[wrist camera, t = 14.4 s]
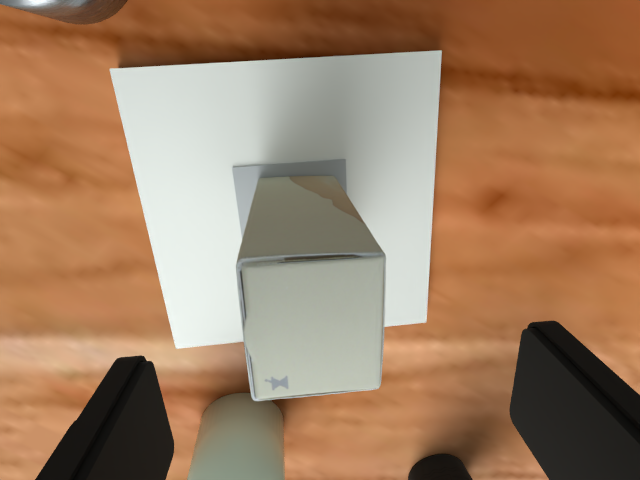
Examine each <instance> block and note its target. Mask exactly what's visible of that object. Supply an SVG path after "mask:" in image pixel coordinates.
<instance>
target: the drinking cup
mask: <svg viewBox="0 0 640 480" xmlns="http://www.w3.org/2000/svg"><path fill="white" fill-rule="evenodd" d="M408 480H472V478H471V476H470V475H469V473H468V471H467V470H466V468H465V466H464V465H463V463H462V462H461V460H459V459H458V458H457V457H455V456H452V455H448V454H438V455H433V456H430V457H427V458H425V459H423V460H421V461H420V462H418V463H417V464H416V465H415V466H414V467H413V468H412V470H411V471H410V473H409V477H408Z"/></svg>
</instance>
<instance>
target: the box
mask: <svg viewBox="0 0 640 480" xmlns="http://www.w3.org/2000/svg"><path fill="white" fill-rule="evenodd" d="M236 275H237V286H238V297H239V306H240V314H241V323H242V331H243V339H244V347H245V355H246V362H247V369H248V376H249V384H250V390H251V397H252V399H253V400H254V401H263V400H273V399H285V398H297V397H307V396H319V395H328V394H338V393H346V392H354V391H364V390H374V389H378V388H379V387H380V385H381V374H382V361H383V346H384V326H385V288H386V256H385V253H384V252H383V250H382V249H381V247H380V246H379V244H378V243H377V241H376V240H375V238H374V237H373V235H372V233H371V232H370V230H369V229H368V227H367V226H366V224H365V222H364V221H363V219H362V218H361V216H360V215H359V213H358V211H357V210H356V208H355V207H354V205H353V204H352V202H351V201H350V199H349V197H348V196H347V194H346V193H345V191H344V190H343V188H342V187H341V185H340V184H339V182H338V180H337V179H336V177H335V176H287V177H268V178H260V179H259V180H258V182H257V186H256V190H255V193H254V197H253V201H252V204H251V208H250V212H249V216H248V220H247V224H246V227H245V231H244V235H243V239H242V243H241V246H240V250H239V254H238V258H237V263H236Z"/></svg>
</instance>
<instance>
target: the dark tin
mask: <svg viewBox="0 0 640 480" xmlns="http://www.w3.org/2000/svg"><path fill="white" fill-rule="evenodd" d="M126 2H127V0H0V4H2V5H5V6H9V7H13V8H16V9H20V10H23V11H27V12H31V13H34V14H38V15H41V16H45V17H49V18H52V19H56V20H59V21H63V22H67V23H72V24H94V23H97V22H101V21H103V20H106V19H108V18H110V17H111V16H113V15H114V14H116V13H117V12H118V11H119V10H120V9H121V8H122V7H123V6H124V4H125V3H126Z"/></svg>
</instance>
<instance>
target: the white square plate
mask: <svg viewBox="0 0 640 480" xmlns="http://www.w3.org/2000/svg"><path fill="white" fill-rule="evenodd" d="M441 56H442V50H439V51H421V52H403V53H385V54H367V55H349V56H331V57H313V58H295V59H277V60H259V61H241V62H223V63H205V64H187V65H169V66H151V67H133V68H115V69H110V73H111V77H112V82H113V86H114V90H115V94H116V98H117V103H118V107H119V111H120V115H121V119H122V124H123V128H124V132H125V136H126V141H127V145H128V149H129V153H130V157H131V162H132V166H133V170H134V174H135V178H136V183H137V187H138V191H139V195H140V199H141V204H142V208H143V212H144V216H145V221H146V225H147V229H148V233H149V237H150V242H151V246H152V250H153V254H154V258H155V263H156V267H157V271H158V275H159V279H160V284H161V288H162V292H163V296H164V301H165V305H166V309H167V313H168V317H169V322H170V326H171V330H172V334H173V338H174V343H175V347H176V349H178V348H188V347H197V346H207V345H216V344H226V343H235V342H244V339H243V331H242V323H241V314H240V306H239V297H238V286H237V275H236V263H237V258H238V254H239V250H240V246H241V243H242V239H243V235H244V231H245V227H246V224H247V220H248V216H249V212H250V208H251V204H252V201H253V197H254V193H255V190H256V186H257V182H258V180H259V179H260V178H268V177H287V176H335V177H336V179H337V180H338V182H339V184H340V185H341V187H342V188H343V190H344V191H345V193H346V194H347V196H348V197H349V199H350V201H351V202H352V204H353V205H354V207H355V208H356V210H357V211H358V213H359V215H360V216H361V218H362V219H363V221H364V222H365V224H366V226H367V227H368V229H369V230H370V232H371V233H372V235H373V237H374V238H375V240H376V241H377V243H378V244H379V246H380V247H381V249H382V250H383V252H384V253H385V256H386V288H385V326H384V327H387V326H396V325H406V324H415V323H425V322H426V320H427V302H428V285H429V267H430V249H431V232H432V214H433V197H434V179H435V161H436V144H437V126H438V109H439V91H440V74H441Z"/></svg>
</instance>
